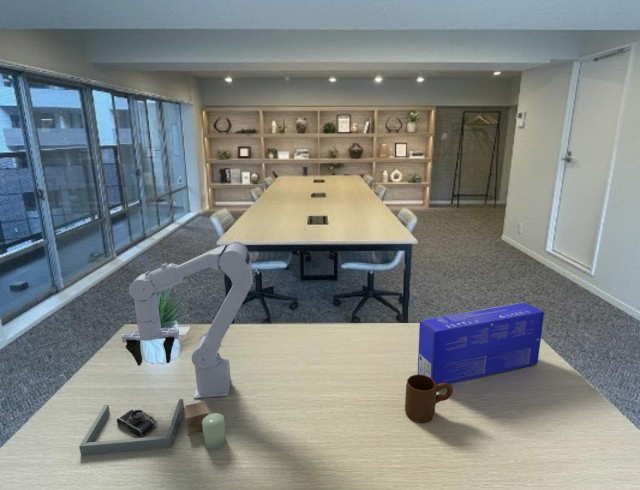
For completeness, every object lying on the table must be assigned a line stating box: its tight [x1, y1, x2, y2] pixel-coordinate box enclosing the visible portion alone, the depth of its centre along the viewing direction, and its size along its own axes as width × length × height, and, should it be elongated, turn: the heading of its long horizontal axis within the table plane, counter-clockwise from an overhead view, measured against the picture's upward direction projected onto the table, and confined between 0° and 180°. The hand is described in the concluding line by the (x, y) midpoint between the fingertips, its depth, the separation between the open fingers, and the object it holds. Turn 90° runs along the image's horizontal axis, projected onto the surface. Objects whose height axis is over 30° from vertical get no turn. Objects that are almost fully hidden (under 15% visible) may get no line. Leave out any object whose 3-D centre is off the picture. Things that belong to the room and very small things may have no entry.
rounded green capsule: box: [202, 412, 227, 451], centre depth 95 cm, size 5×5×6 cm
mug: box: [404, 374, 454, 424], centre depth 103 cm, size 12×8×9 cm, turn 91°
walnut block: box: [184, 400, 209, 436], centre depth 100 cm, size 5×5×5 cm
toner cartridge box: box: [417, 301, 545, 385], centre depth 122 cm, size 39×8×18 cm, turn 108°
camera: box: [116, 408, 157, 438], centre depth 101 cm, size 5×10×4 cm, turn 58°
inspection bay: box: [78, 398, 185, 456], centre depth 99 cm, size 20×14×2 cm
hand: (154, 362), depth 112 cm, fingers open, 7 cm apart
